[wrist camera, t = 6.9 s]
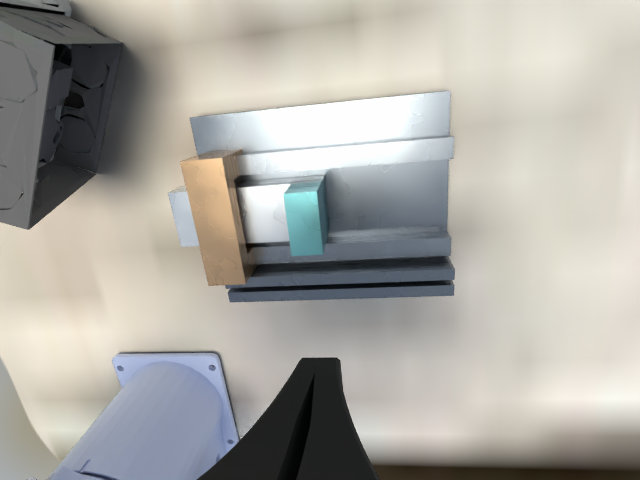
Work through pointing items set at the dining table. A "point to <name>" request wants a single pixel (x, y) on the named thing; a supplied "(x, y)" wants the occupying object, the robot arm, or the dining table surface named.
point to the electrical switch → (49, 105)
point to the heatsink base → (330, 197)
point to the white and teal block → (270, 213)
